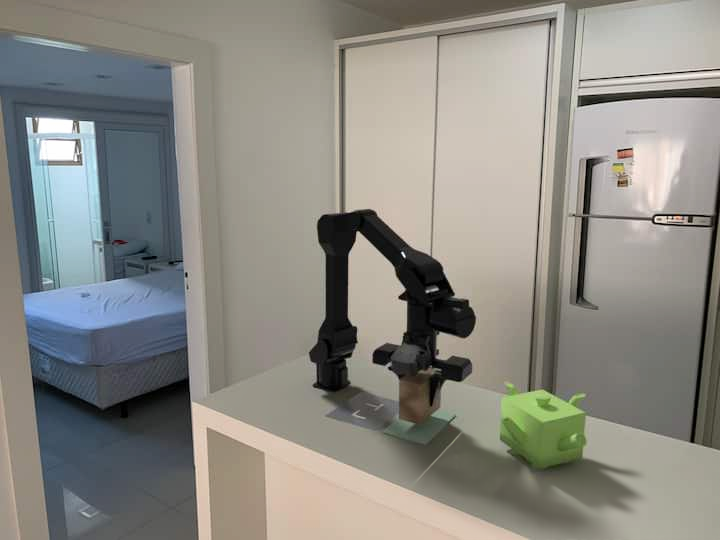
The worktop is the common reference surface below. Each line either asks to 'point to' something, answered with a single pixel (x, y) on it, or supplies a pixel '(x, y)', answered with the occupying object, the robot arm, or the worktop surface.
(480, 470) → the worktop surface
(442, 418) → the green mat
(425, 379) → the walnut block
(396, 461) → the worktop surface
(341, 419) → the plate
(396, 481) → the worktop surface
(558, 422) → the green knobbed block
